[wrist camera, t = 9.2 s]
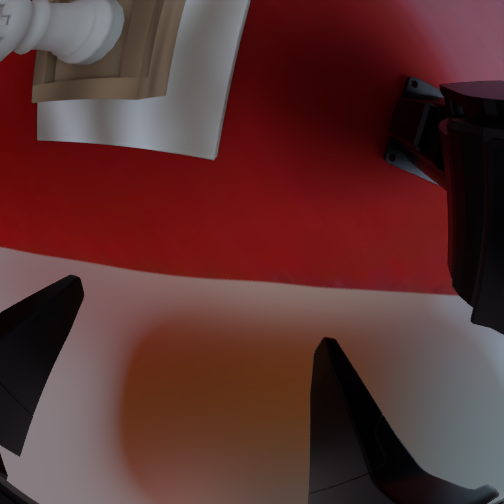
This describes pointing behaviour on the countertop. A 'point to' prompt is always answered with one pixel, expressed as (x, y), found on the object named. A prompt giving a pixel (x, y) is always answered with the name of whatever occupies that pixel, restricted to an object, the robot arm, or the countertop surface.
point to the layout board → (147, 80)
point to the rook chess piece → (61, 28)
